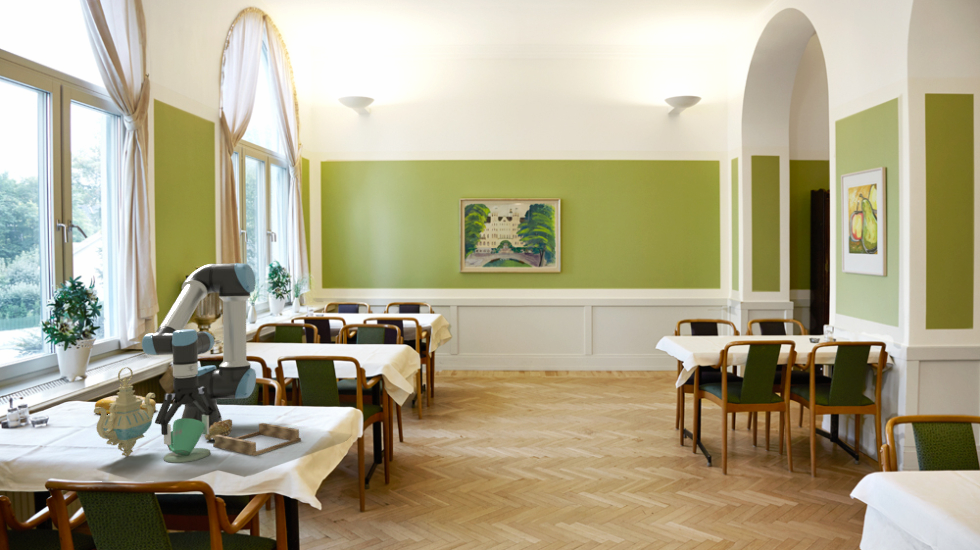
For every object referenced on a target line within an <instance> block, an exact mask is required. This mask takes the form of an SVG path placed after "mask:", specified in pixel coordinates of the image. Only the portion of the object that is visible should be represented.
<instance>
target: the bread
mask: <svg viewBox="0 0 980 550" xmlns="http://www.w3.org/2000/svg"><path fill="white" fill-rule="evenodd" d="M116 397H118V395H112V396H108V397H104V398H102V399H99V400H97V401H96V402H95V403H94V408H95V407H102V408H104V409H105V410H106V413H107V414H110V413H111V412H110V411H109V409H110V407H111V406H109V404H110V403H113V402H115V401H116ZM137 397H138V398H140V399H141V400H143V402H142V404H145V402H144V401H145V397H146V396H142V395H136V398H137ZM150 404H151V406H152V408H153V410H154V413H155V411H156V409H157V407H156V404H157V402H156V400H154V398H150ZM140 409H142V410H144V411H145V412H146V413H147V414H148V409H147V408H142V405H141V406H140ZM99 414H101V411H100V410H99V413H98V414H97V415H99Z"/></svg>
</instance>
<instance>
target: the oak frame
mask: <svg viewBox="0 0 980 550" xmlns="http://www.w3.org/2000/svg"><path fill="white" fill-rule="evenodd" d="M258 435H260V436H265V437H271V438H277V439H280V440H286V441H284V442H282V443H279V444H278V443H277V444H275V445H271V446H268V447H265V448H262V449H259V450H257V443H256V442H255V441H250V440H245V439H249V438H251V437H255V436H258ZM301 441H302V438H301V437H300V429H298V428H293V427H289V426H281V425H275V424H271V423H266V422H265V423H264V422H260V423H258V430H257V431H255V432H250V433H247V434H243V435H240V436H235V437H230V436H222V435H216V436H215V440H214V443H213V448H218V449H222V450H225V451H226V450H227V451H231V452H236V453H240V454H244V455H249V456H253V457H255V456H258V455H262V454H264V453H268V452H270V451H273V450H276V449H280V448H283V447H286V446H289V445H292V444H295V443H298V442H301Z"/></svg>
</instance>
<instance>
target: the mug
mask: <svg viewBox="0 0 980 550" xmlns="http://www.w3.org/2000/svg"><path fill="white" fill-rule="evenodd" d="M181 418H182V417H181ZM181 418H178V419H175V420H174V422H173V424H172V430H171V445H167V448H168V450H169V451H170V452H174V453H175V454H178V455H189V454H190V453H191V452H192V450H193V449H194V448H196V445H197V444H198V443H199V441H200V438H201V436H202V432H203V430H204V427H205V424H204V423H203V422H201V421H199V420H195V419H190V418H182V419H181Z"/></svg>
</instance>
